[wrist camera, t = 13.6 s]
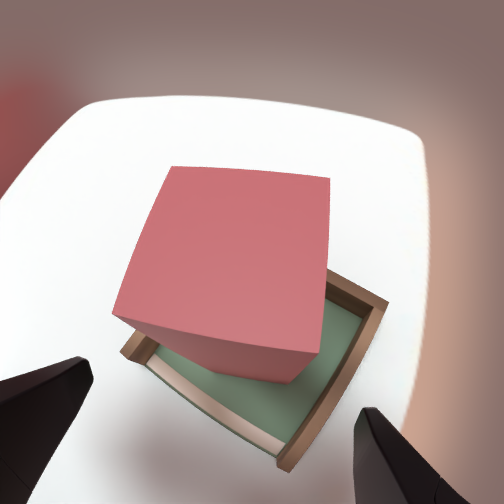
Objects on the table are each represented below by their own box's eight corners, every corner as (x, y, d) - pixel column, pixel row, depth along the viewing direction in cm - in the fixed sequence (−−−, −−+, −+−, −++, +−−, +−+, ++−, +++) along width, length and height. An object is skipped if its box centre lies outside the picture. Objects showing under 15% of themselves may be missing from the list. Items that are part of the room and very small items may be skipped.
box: (286, 462, 15) (288, 473, 12) (138, 359, 19) (119, 351, 16) (374, 316, 19) (389, 302, 17) (232, 238, 23) (227, 216, 21)
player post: (287, 384, 17) (318, 353, 6) (212, 371, 18) (111, 313, 6) (298, 313, 19) (330, 178, 8) (227, 303, 20) (171, 166, 9)
